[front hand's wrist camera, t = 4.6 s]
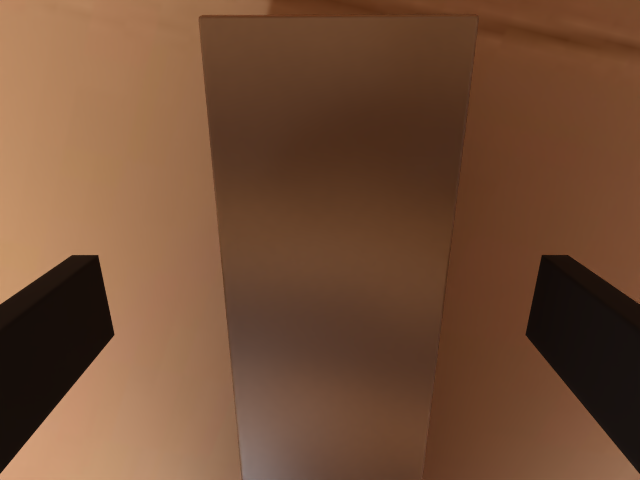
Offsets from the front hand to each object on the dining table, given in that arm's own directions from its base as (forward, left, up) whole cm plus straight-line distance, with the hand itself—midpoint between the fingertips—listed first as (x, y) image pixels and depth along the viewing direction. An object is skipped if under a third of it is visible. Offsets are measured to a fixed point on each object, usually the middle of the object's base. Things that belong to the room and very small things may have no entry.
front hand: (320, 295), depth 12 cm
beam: (+16, +8, -6) cm, 19 cm away
